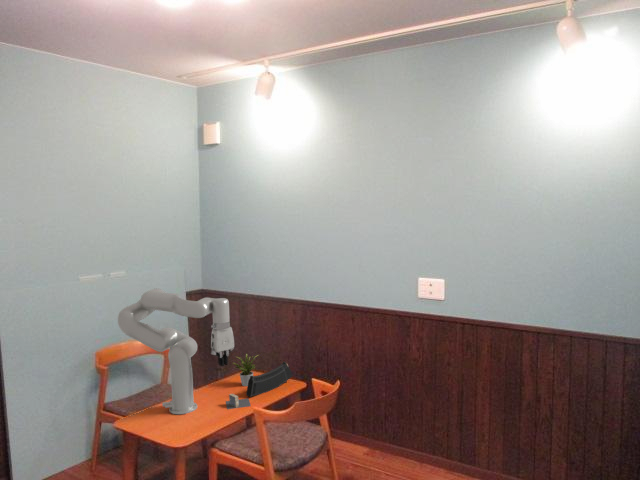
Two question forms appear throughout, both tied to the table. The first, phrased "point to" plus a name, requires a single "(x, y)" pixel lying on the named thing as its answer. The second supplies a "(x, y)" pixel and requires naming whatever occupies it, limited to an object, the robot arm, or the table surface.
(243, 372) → the house plant
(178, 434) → the table surface
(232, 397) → the tile
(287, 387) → the table surface
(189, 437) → the table surface
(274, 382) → the magazine
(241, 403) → the mat
